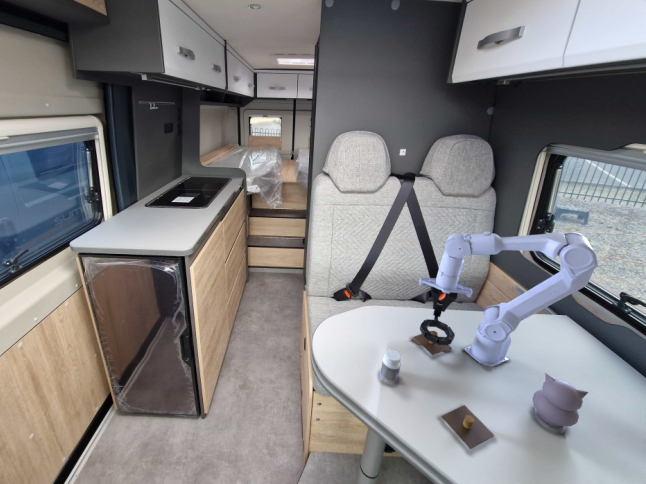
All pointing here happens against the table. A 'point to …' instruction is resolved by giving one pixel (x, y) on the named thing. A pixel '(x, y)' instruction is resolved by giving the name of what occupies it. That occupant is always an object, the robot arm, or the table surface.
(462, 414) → the short peg stand
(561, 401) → the cat figurine
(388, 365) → the pill bottle
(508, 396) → the table surface
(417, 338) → the tall peg stand
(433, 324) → the hanger ring
